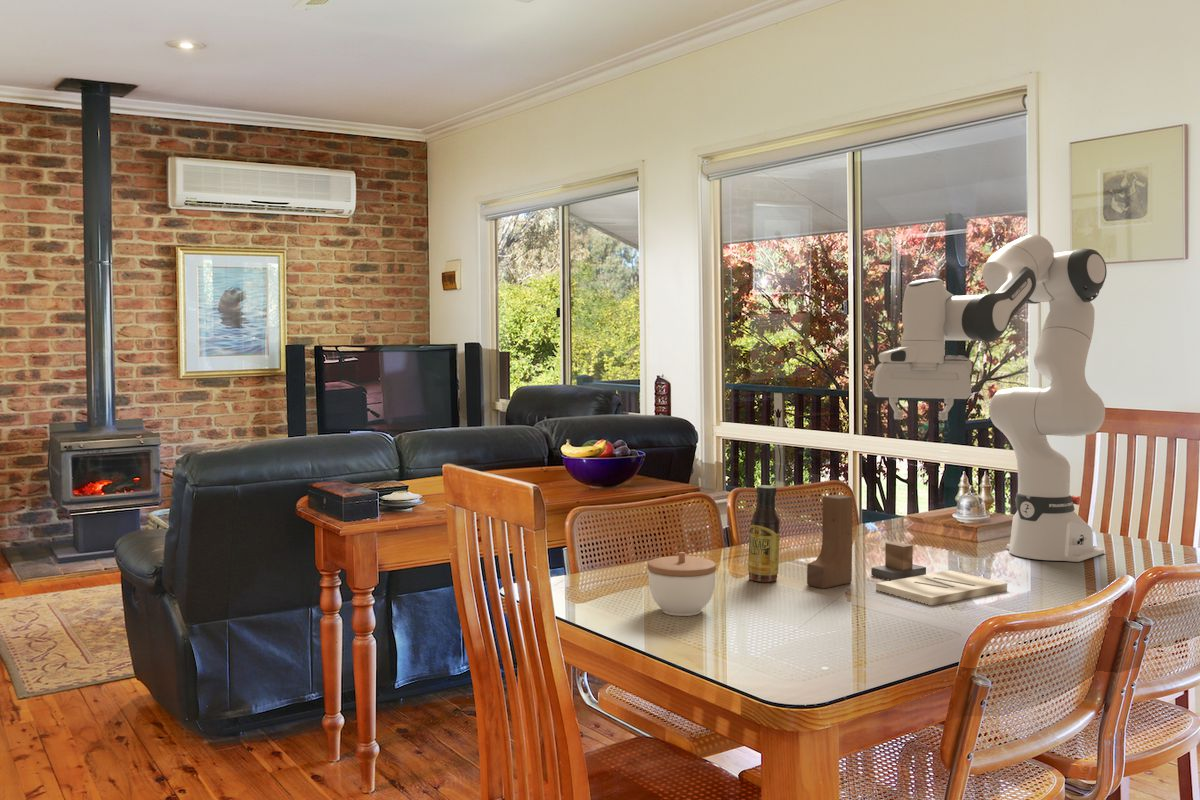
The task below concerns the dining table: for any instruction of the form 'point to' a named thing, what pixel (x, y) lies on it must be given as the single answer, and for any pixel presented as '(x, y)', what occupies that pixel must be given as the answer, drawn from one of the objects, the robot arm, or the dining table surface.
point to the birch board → (941, 587)
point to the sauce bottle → (764, 537)
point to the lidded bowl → (681, 583)
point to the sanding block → (898, 563)
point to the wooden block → (834, 545)
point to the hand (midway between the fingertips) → (920, 419)
